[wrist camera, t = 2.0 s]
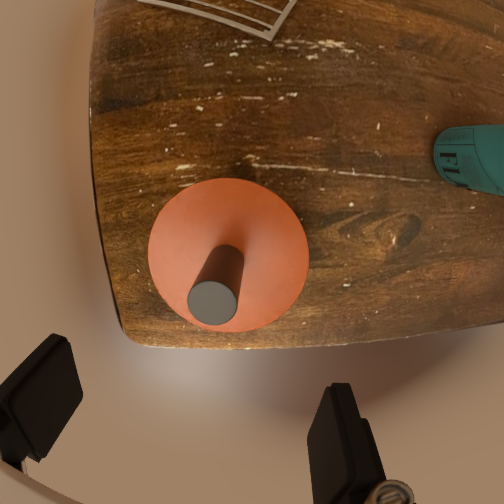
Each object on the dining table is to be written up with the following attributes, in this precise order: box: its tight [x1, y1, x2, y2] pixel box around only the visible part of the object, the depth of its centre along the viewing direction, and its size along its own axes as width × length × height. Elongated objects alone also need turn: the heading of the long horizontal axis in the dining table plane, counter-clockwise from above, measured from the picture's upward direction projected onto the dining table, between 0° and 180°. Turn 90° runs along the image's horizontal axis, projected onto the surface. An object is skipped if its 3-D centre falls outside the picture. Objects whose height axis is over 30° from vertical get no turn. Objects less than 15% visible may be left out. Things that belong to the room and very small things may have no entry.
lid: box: [148, 178, 309, 333], centre depth 20 cm, size 13×13×8 cm
